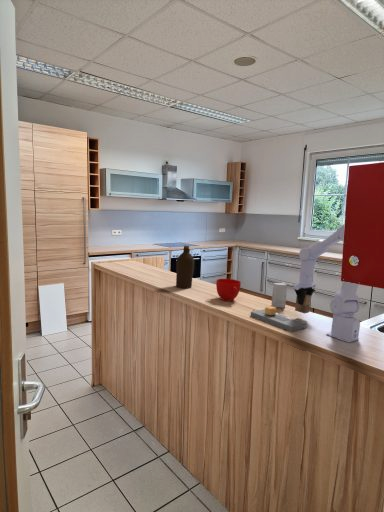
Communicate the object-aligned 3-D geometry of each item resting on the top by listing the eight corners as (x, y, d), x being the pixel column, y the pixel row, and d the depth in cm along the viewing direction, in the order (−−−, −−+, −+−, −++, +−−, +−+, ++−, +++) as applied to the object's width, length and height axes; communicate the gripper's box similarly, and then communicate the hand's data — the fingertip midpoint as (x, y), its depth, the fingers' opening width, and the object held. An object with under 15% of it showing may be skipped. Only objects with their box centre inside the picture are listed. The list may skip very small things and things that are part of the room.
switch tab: (275, 314, 147) (276, 307, 146) (270, 315, 144) (270, 308, 144) (270, 312, 149) (271, 306, 149) (264, 313, 147) (265, 307, 146)
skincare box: (282, 305, 172) (284, 283, 170) (285, 308, 167) (287, 284, 166) (270, 305, 171) (273, 282, 169) (273, 307, 166) (276, 284, 165)
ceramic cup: (222, 304, 165) (224, 285, 164) (211, 296, 181) (213, 278, 180) (246, 304, 169) (248, 285, 167) (233, 296, 185) (235, 278, 184)
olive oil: (190, 289, 194) (193, 247, 191) (173, 287, 196) (175, 245, 193) (193, 286, 204) (196, 245, 201) (177, 284, 206) (179, 244, 203)
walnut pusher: (308, 312, 150) (310, 295, 149) (304, 313, 148) (306, 296, 147) (299, 309, 154) (301, 292, 153) (295, 310, 152) (296, 293, 151)
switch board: (305, 327, 138) (306, 323, 138) (291, 331, 132) (291, 326, 132) (265, 313, 155) (265, 309, 155) (250, 316, 149) (250, 311, 149)
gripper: (307, 272, 156) (304, 300, 158) (289, 273, 147) (285, 303, 149) (321, 274, 151) (317, 303, 152) (302, 276, 142) (299, 307, 144)
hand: (303, 303), depth 150 cm, fingers closed on walnut pusher, 3 cm apart
